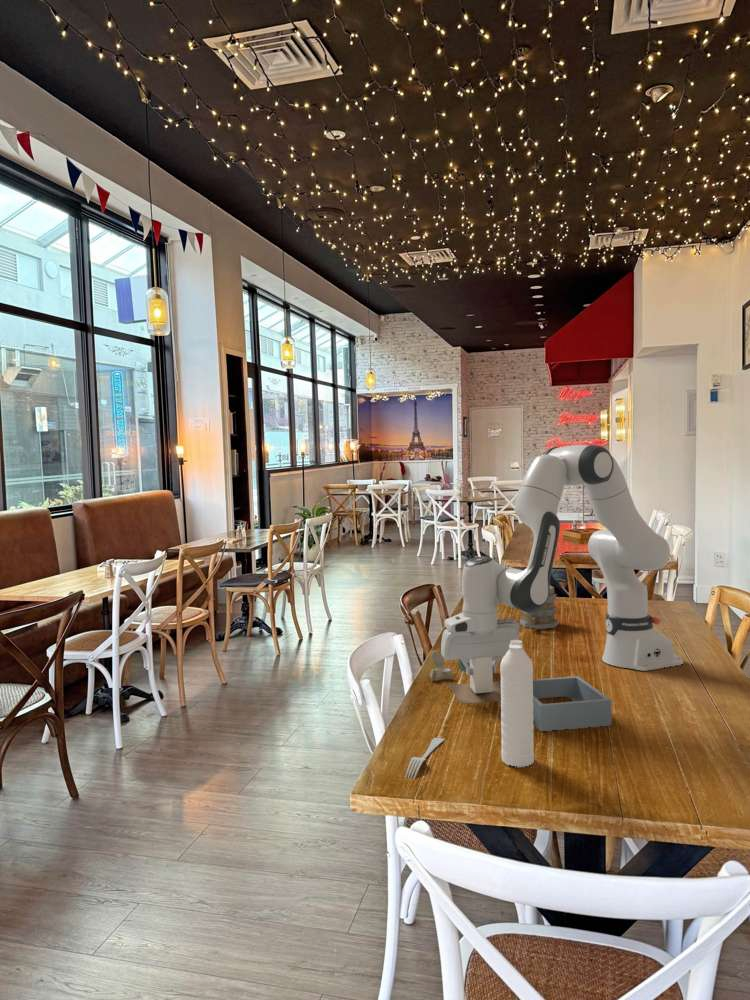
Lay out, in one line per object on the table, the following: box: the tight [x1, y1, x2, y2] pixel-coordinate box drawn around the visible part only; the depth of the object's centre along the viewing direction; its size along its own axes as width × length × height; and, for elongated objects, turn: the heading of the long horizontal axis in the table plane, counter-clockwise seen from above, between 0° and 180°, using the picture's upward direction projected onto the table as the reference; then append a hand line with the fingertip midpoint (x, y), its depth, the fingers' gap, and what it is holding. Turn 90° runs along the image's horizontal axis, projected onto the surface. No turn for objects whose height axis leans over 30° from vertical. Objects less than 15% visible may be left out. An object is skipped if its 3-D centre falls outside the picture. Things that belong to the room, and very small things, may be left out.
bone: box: [429, 650, 455, 682], centre depth 187 cm, size 9×6×10 cm
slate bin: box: [533, 675, 612, 732], centre depth 162 cm, size 17×17×6 cm
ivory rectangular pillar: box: [469, 657, 494, 693], centre depth 174 cm, size 5×5×9 cm
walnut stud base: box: [447, 680, 501, 705], centre depth 175 cm, size 14×14×5 cm
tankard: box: [519, 585, 559, 630], centre depth 242 cm, size 20×13×15 cm, turn 144°
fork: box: [404, 737, 446, 780], centre depth 142 cm, size 3×21×3 cm, turn 157°
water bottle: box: [499, 639, 535, 768], centre depth 137 cm, size 9×6×25 cm
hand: (481, 673), depth 174 cm, fingers closed on ivory rectangular pillar, 5 cm apart
